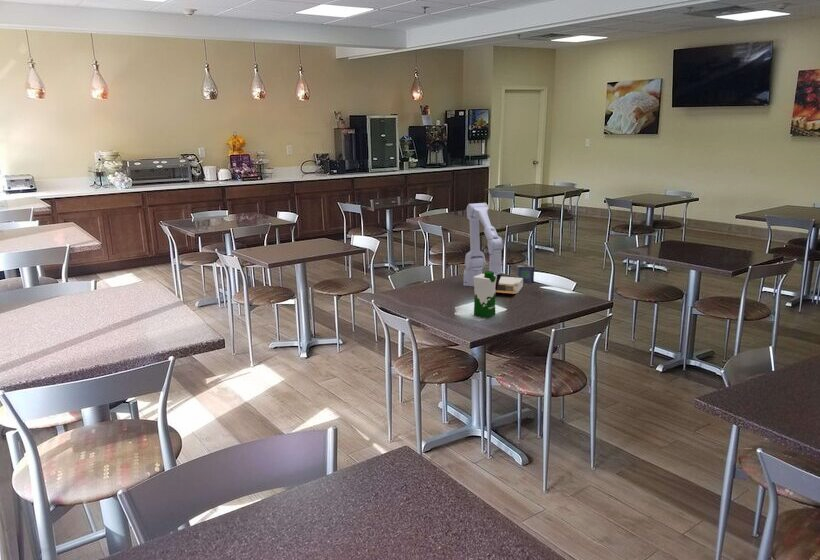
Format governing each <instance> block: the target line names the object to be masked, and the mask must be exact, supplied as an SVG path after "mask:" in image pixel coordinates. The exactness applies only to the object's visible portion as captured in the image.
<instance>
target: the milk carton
mask: <svg viewBox="0 0 820 560" xmlns="http://www.w3.org/2000/svg"><path fill="white" fill-rule="evenodd" d="M473 279H474V286H473V288H474V289H473V290H474V291H473V292H474V293H473V295H474V296H473V297H474V300H473V302H474V304H473V305H474V306H473V316H474V315H476V316H475V317H479V316H480V318H484V317H485V319H488V317H489V318H491V317H493V316H495V315H496V292H495V286H496V280H497V276H495V275H494V272H492V271H489V270H487V271H485V272H484V273H482V274H480V275H477V276H474V277H473ZM492 315H493V316H492Z"/></svg>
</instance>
